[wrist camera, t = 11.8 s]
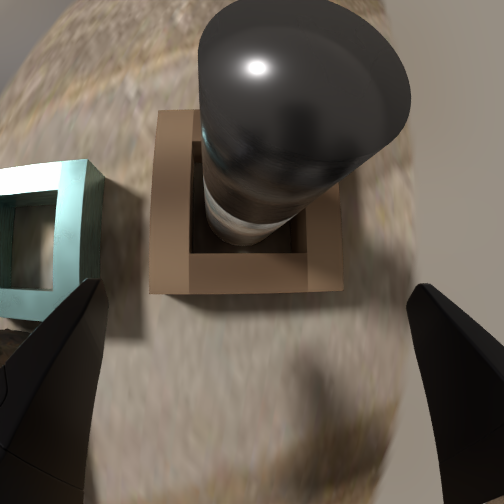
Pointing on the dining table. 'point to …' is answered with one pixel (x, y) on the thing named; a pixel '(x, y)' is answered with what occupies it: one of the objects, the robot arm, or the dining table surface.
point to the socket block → (65, 236)
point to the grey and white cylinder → (290, 109)
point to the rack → (230, 264)
